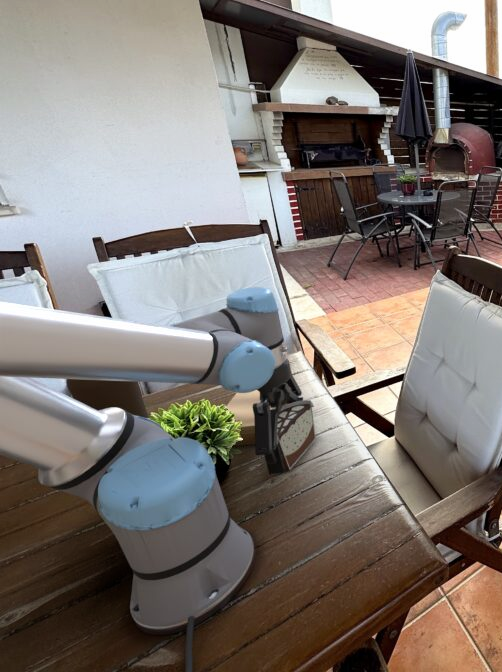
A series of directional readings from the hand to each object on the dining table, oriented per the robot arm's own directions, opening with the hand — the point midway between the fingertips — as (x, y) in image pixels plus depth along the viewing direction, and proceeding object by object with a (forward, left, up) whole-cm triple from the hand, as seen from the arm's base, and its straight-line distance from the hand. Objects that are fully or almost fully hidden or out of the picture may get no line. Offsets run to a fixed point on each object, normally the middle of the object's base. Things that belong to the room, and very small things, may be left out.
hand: (288, 449), depth 87 cm
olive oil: (+15, +41, -2) cm, 44 cm away
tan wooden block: (+14, +12, -2) cm, 19 cm away
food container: (+1, 0, -2) cm, 2 cm away
